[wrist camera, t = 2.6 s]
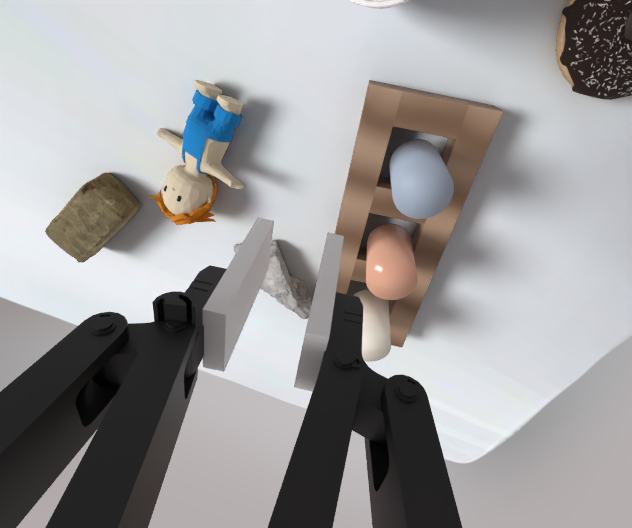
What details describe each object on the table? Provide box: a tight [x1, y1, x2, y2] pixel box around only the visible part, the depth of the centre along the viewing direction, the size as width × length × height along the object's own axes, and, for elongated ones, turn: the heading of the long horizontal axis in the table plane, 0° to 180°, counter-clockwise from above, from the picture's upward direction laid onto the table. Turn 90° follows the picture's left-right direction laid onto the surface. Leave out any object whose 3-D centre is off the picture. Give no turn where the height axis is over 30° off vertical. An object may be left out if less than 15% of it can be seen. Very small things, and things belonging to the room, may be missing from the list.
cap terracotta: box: [366, 224, 418, 300], centre depth 38 cm, size 5×5×7 cm
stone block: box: [45, 173, 140, 262], centre depth 45 cm, size 6×12×5 cm, turn 131°
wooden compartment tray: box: [335, 80, 503, 347], centre depth 42 cm, size 30×12×3 cm, turn 170°
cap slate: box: [389, 139, 454, 219], centre depth 33 cm, size 5×5×7 cm
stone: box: [234, 240, 311, 319], centre depth 48 cm, size 6×12×4 cm, turn 27°
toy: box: [146, 80, 244, 225], centre depth 39 cm, size 12×6×15 cm
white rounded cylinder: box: [353, 289, 391, 361], centre depth 43 cm, size 5×5×7 cm
